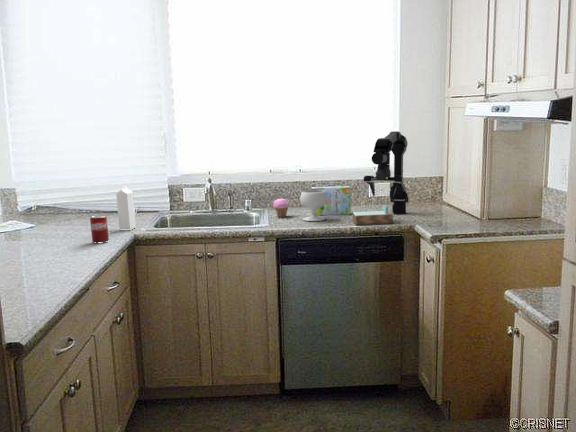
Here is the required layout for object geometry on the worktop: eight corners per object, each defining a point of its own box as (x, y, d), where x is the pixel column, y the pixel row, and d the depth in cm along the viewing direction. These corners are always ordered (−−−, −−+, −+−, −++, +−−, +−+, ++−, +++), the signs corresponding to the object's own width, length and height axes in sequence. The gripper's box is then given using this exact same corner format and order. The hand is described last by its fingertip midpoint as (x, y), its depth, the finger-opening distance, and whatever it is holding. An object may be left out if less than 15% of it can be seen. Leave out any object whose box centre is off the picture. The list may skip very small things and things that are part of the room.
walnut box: (388, 219, 298) (388, 210, 297) (392, 223, 286) (392, 214, 286) (352, 220, 298) (352, 212, 297) (355, 225, 286) (355, 216, 286)
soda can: (94, 241, 273) (92, 215, 271) (110, 240, 274) (108, 214, 272) (90, 244, 266) (88, 218, 264) (107, 243, 267) (104, 217, 265)
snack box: (350, 213, 322) (350, 185, 320) (350, 214, 317) (350, 186, 314) (312, 213, 325) (311, 186, 322) (311, 215, 319) (310, 187, 317)
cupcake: (289, 217, 314) (288, 199, 312) (273, 218, 314) (272, 199, 313) (289, 215, 323) (289, 197, 321) (274, 215, 323) (273, 197, 321)
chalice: (317, 216, 315) (316, 188, 313) (333, 219, 304) (332, 190, 301) (295, 219, 308) (294, 191, 305) (311, 223, 296) (310, 193, 294)
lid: (386, 211, 297) (386, 204, 296) (390, 215, 287) (390, 207, 286) (353, 213, 297) (352, 205, 296) (355, 216, 286) (355, 208, 286)
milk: (119, 230, 296) (115, 187, 293) (125, 228, 302) (121, 185, 298) (130, 230, 295) (126, 187, 291) (136, 228, 301) (132, 185, 297)
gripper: (361, 164, 283) (360, 197, 284) (400, 164, 276) (399, 197, 278) (366, 164, 293) (365, 195, 294) (404, 164, 287) (403, 196, 288)
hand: (383, 196), depth 288 cm, fingers open, 9 cm apart
